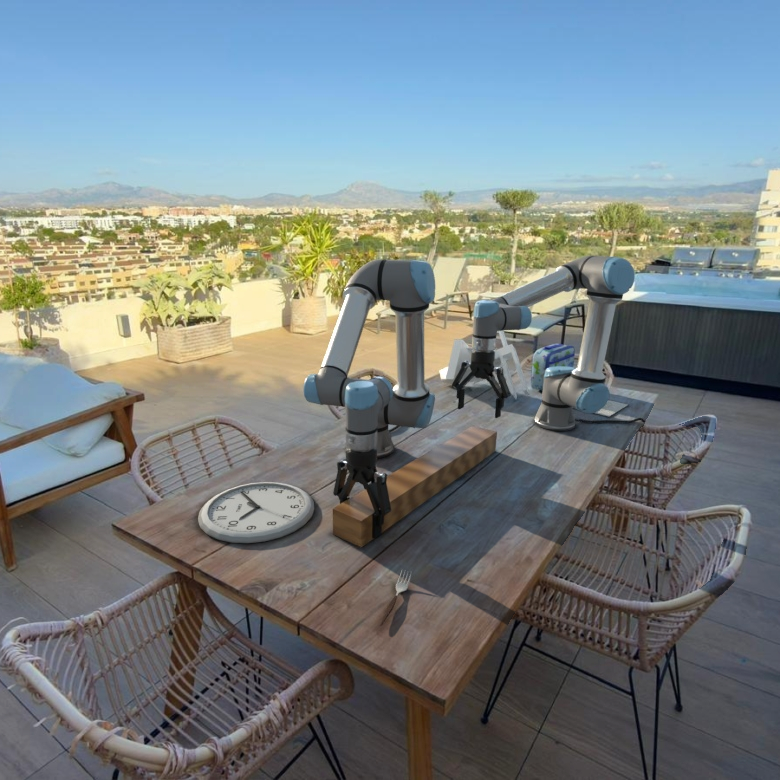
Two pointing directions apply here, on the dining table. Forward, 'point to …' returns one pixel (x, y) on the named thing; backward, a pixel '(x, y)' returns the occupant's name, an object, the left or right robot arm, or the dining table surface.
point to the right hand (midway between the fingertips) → (478, 412)
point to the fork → (400, 588)
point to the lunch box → (550, 361)
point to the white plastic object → (502, 355)
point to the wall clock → (256, 512)
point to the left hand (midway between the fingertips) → (361, 529)
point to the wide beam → (414, 484)
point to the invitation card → (611, 408)
